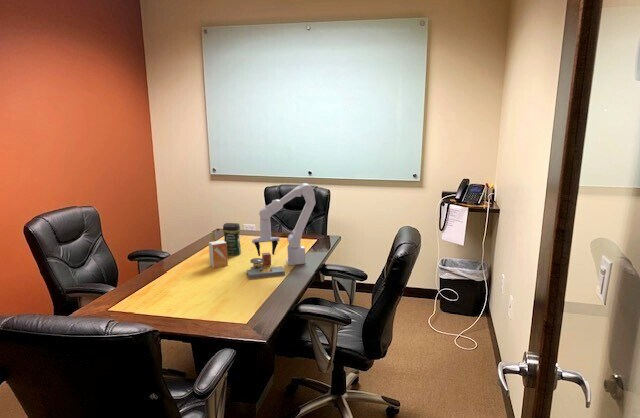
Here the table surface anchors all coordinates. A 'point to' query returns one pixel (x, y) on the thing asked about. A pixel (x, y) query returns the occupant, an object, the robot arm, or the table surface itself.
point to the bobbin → (257, 263)
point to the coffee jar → (232, 238)
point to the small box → (218, 254)
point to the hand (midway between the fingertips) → (266, 254)
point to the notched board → (257, 274)
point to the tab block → (266, 259)
